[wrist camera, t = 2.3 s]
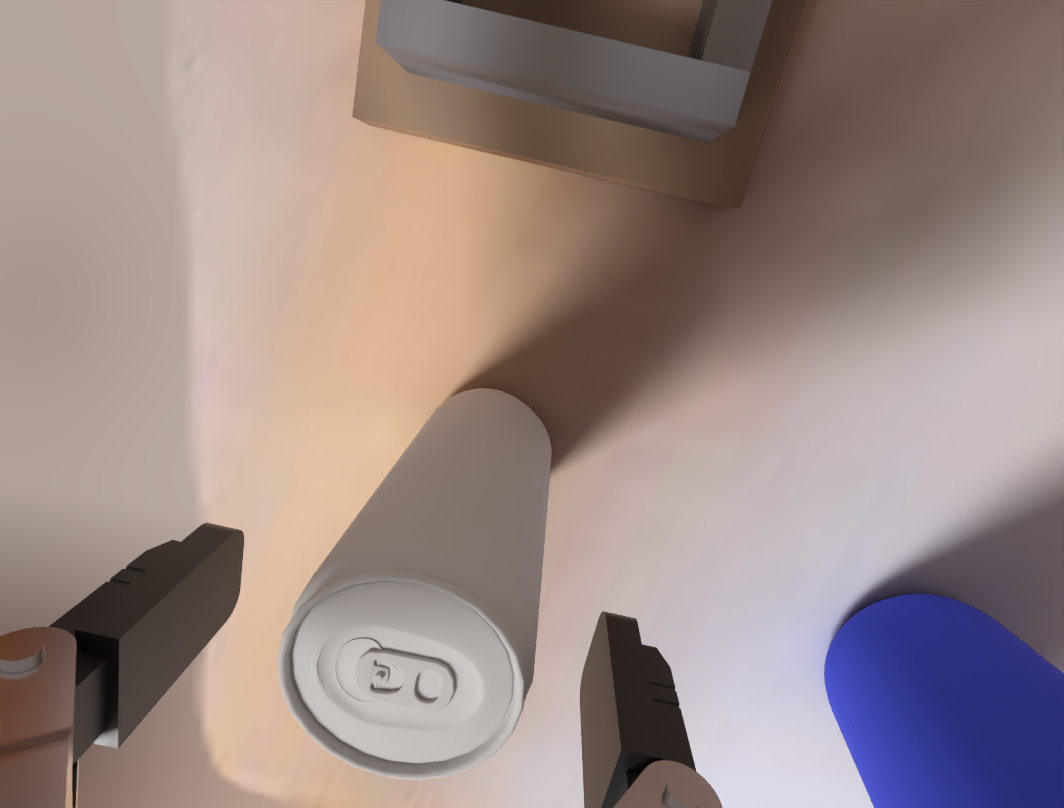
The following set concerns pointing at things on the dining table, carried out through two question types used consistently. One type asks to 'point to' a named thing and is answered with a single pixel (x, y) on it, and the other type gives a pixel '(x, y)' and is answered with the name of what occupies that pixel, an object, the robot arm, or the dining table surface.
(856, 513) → the dining table surface
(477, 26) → the can holder
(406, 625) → the beverage can
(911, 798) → the mug
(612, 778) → the robot arm
